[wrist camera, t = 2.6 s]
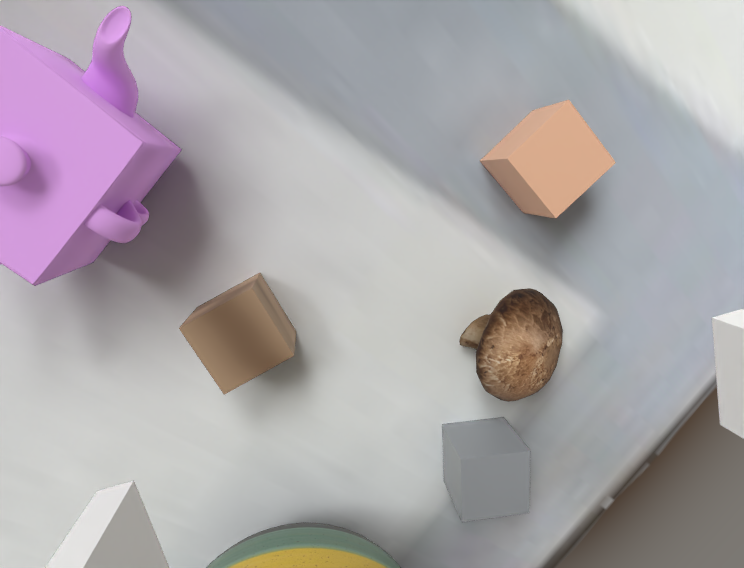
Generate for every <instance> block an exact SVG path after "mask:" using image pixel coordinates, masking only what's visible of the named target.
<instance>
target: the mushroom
mask: <svg viewBox="0 0 744 568" xmlns="http://www.w3.org/2000/svg"><path fill="white" fill-rule="evenodd" d="M562 332H563V330H562V326H561V322H560V318H559V315H558V311H557V309H556V307H555V306H554V304H553V303H552V302H550V301H549V300H548V299H547V298H546V297H545V296H544V295H543V294H542V293H540V292H538V291H537V290H534V289H519V290H513V291H512V292H510V293H509V294H508V295H507V296H505V297H504V298H503V299H502V300H500V302H499V303H498V305H497V306H496V308H495V309H494V310H493V312H492V313H491V315H484V316H481V317H479V318H478V319H476V320H475V321H473V322H472V323H471V324H470V325H469V326H468V327H467V328H466V329H465V331H464V332H463V334H462V335H461V337H460V345H461V346H465V347H471V348H474V349H476V350H477V351H476V372H477V374H478V377H479V379H480V381H481V383H482V386H483V387H484V389H485V391H487V392H488V393H490V394H492V395H493V396H495V397H497V398H498V399H500V400H504V401H508V402H509V401H516V400H519V399H522V398H524V397H527V396H530V395H532V394H534V393H536V392H538V391H539V390H540V389H541V388H542V387H543V386H544V385H545V384H546V383H547V382H548V381H549V380H550V378H551V376H552V374H553V372H554V370H555V368H556V365H557V361H558V357H559V352H560V349H561V345H562Z"/></svg>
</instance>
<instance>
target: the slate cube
mask: <svg viewBox="0 0 744 568" xmlns="http://www.w3.org/2000/svg"><path fill="white" fill-rule="evenodd" d="M442 437H443V475H444V483H445V485H446V487H447V490H448V492H449V494H450V496H451V499H452V501H453V503H454V505H455V508H456V510H457V512H458V515H459V517H460V519H461V521H462V522H468V521H475V520H482V519H490V518H497V517H504V516H512V515H519V514H526V513H529V505H530V449H529V448H528V447H527V446H526V444H525V443H524V442H523V441H522V439H521V438H520V437H519V436H518V434H517V433H516V432H515V431H514V430H513V428H512V427H511V426H510V425H509V423H508V422H507V421H506V420H505V418H504V417H501V418H492V419H483V420H474V421H465V422H457V423H448V424H442Z"/></svg>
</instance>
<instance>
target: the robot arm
mask: <svg viewBox="0 0 744 568" xmlns="http://www.w3.org/2000/svg"><path fill="white" fill-rule="evenodd" d="M712 326H713V339H714V352H715V365H716V378H717V391H718V403H719V416H720V425H722V426H723V427H725V428H727V429H729V430H730V431H732V432H733V433H735V434H737V435H738V436H740V437H742V438H743V439H744V309H741V310H737V311H733V312H730V313H726V314H723V315H719V316H716V317H712ZM45 568H169V566H168V563H167V561H166V558H165V556H164V553H163V551H162V548H161V546H160V543H159V541H158V539H157V536H156V534H155V531H154V529H153V526H152V524H151V521H150V519H149V516H148V514H147V512H146V509H145V507H144V504H143V502H142V499H141V497H140V494H139V492H138V489H137V487H136V484H135V482H134V481H130V482H126V483H123V484H119V485H116V486H112V487H109V488H105V489H102V490H98V491H97V492H96V493H95V495H94V496H93V498H92V499H91V501H90V502H89V503H88V505H87V506H86V508H85V509H84V511H83V512H82V514H81V515H80V517H79V518H78V520H77V521H76V523H75V524H74V526H73V527H72V529H71V530H70V531H69V533H68V534H67V536H66V537H65V539H64V540H63V542H62V543H61V545H60V546H59V548H58V549H57V551H56V552H55V554H54V555H53V557H52V558H51V560H50V561H49V562H48V564H47V565H46V567H45Z"/></svg>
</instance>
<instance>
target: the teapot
mask: <svg viewBox="0 0 744 568" xmlns="http://www.w3.org/2000/svg"><path fill="white" fill-rule="evenodd" d="M130 24H131V12H130V10H129V9H128V8H127V7H125V6H119V7H116V8H115V9H113V10H112V11H111V12H110V13H108V14H107V16H106V17H105V18H104V19H103V21H102V22H101V24H100V26H99V28H98V30H97V33H96V36H95V39H94V43H93V58H92V61H91V63H90V65H89V67H88V69H87V70H86V72H85V71H84V70H82V69H81V68H80V67H79V66H77V65H76V64H75V63H74V62H72V61H71V60H70V59H68V58H66V57H64V56H62V55H60V54H58V53H56V52H54V51H52V50H50V49H48V48H46V47H44V46H42V45H40V44H37V43H35V42H33V41H31V40H29V39H27V38H25V37H23V36H21V35H19V34H17V33H15V32H13V31H11V30H9V29H7V28H5V27H3V26H0V264H3V265H4V266H6V267H7V268H9V269H10V270H12V271H13V272H15V273H16V274H18V275H19V276H21V277H22V278H24V279H25V280H27V281H28V282H30V283H31V284H33V285H34V286H36V285H38V284H41V283H43V282H46V281H48V280H51V279H53V278H56V277H58V276H61V275H63V274H66V273H68V272H71V271H73V270H76V269H78V268H81V267H83V266H86V265H88V264H90V263H93V262H94V261H95V260H96V258H97V257H98V256H99V255H100V253H101V252H102V251H103V250H104V248H105V247H106V246H107V244H108V243H109V242H110V241H111V240H112V241H115V242H119V243H127V242H130V241H131V240H133V239H134V238H135V237H136V236H137V235H138V233H139V232H140V230H141V226H142V225H144V224H145V223H146V222H147V221H148V218H149V212H148V210H147V209H146V208H145V207H144V206H143V205H142V204H141V201H142V200H143V199H144V197H145V196H146V195H147V194H148V192H149V191H150V190H151V188H152V187H153V186H154V185H155V183H156V182H157V181H158V180H159V178H160V177H161V176H162V174H163V173H164V172H165V171H166V169H167V168H168V167H169V165H170V164H171V163H172V162H173V160H174V159H175V158H176V156H177V155H178V154H179V153H180V151H181V150H182V149H180V148H179V147H178V146H177V145H175V144H174V143H173V142H172V141H170V140H169V139H168V138H167V137H165V136H164V135H163V134H162V133H160V132H159V131H158V130H157V129H155V128H154V127H153V126H152V125H150V124H149V123H148V122H147V121H145V120H144V119H143V118H142V117H141V116H139V115H138V114H137V113H136V112H135V110H136V106H137V102H138V88H137V84H136V81H135V79H134V77H133V74H132V73H131V71H130V69H129V67H128V65H127V63H126V61H125V58H124V53H123V47H124V42H125V39H126V36H127V33H128V31H129V28H130Z"/></svg>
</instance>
